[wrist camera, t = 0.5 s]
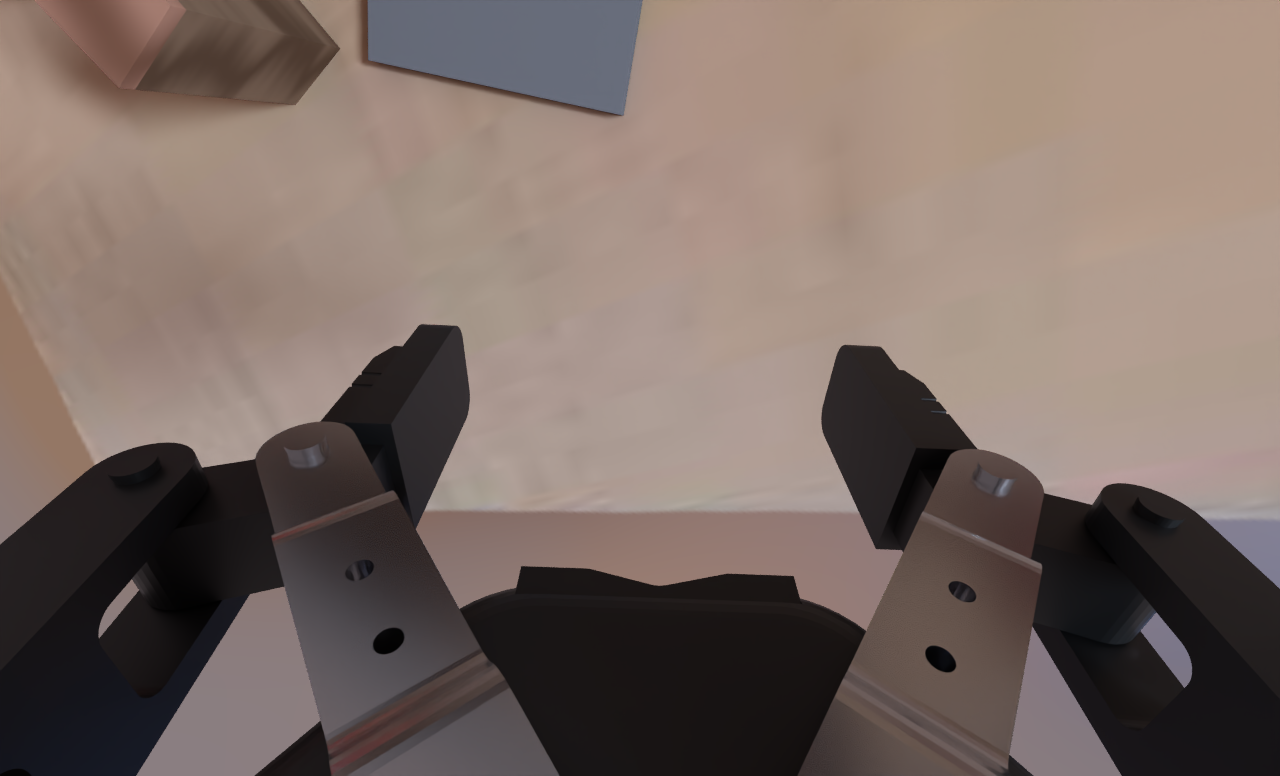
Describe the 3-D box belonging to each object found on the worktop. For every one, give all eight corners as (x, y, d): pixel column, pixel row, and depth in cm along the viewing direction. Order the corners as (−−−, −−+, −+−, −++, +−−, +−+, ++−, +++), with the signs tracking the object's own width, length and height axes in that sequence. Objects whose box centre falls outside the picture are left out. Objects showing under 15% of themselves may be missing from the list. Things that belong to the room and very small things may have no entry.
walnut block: (278, -25, 34) (71, -104, 23) (340, 48, 35) (170, 5, 24) (235, 36, 36) (24, -10, 25) (295, 104, 37) (118, 87, 26)
